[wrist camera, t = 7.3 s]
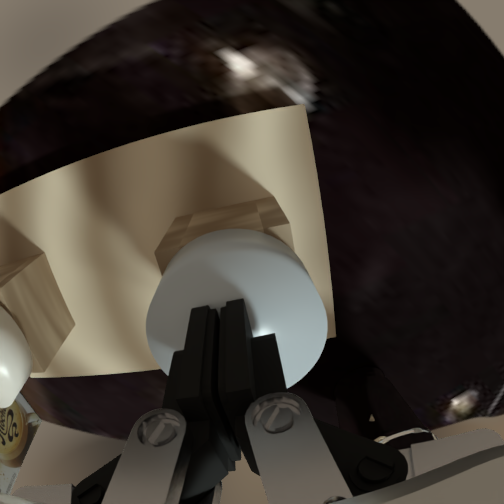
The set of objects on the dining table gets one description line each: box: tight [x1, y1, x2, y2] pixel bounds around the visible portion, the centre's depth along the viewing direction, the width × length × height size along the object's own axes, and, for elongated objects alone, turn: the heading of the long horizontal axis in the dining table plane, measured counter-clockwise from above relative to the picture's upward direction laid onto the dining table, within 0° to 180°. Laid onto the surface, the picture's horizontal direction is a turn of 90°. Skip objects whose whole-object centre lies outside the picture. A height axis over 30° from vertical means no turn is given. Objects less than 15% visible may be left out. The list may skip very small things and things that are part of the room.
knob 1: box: [0, 306, 33, 408], centre depth 14 cm, size 6×6×8 cm
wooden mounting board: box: [0, 104, 336, 378], centre depth 16 cm, size 24×14×6 cm, turn 101°
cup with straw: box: [334, 367, 438, 450], centre depth 15 cm, size 8×9×20 cm
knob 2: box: [146, 229, 328, 388], centre depth 14 cm, size 6×6×8 cm
